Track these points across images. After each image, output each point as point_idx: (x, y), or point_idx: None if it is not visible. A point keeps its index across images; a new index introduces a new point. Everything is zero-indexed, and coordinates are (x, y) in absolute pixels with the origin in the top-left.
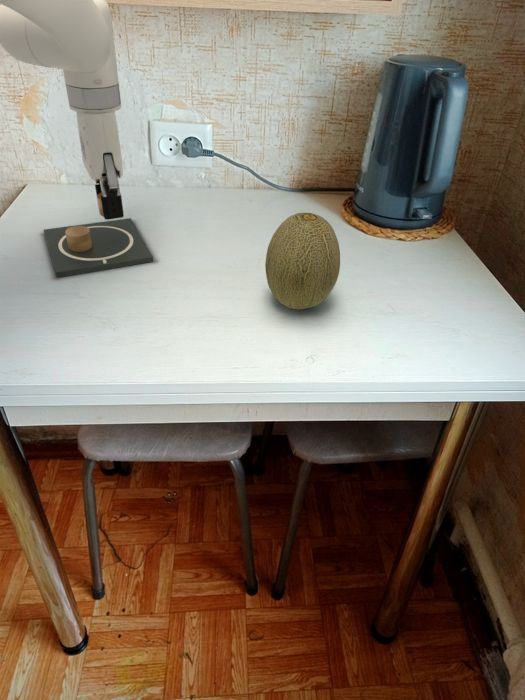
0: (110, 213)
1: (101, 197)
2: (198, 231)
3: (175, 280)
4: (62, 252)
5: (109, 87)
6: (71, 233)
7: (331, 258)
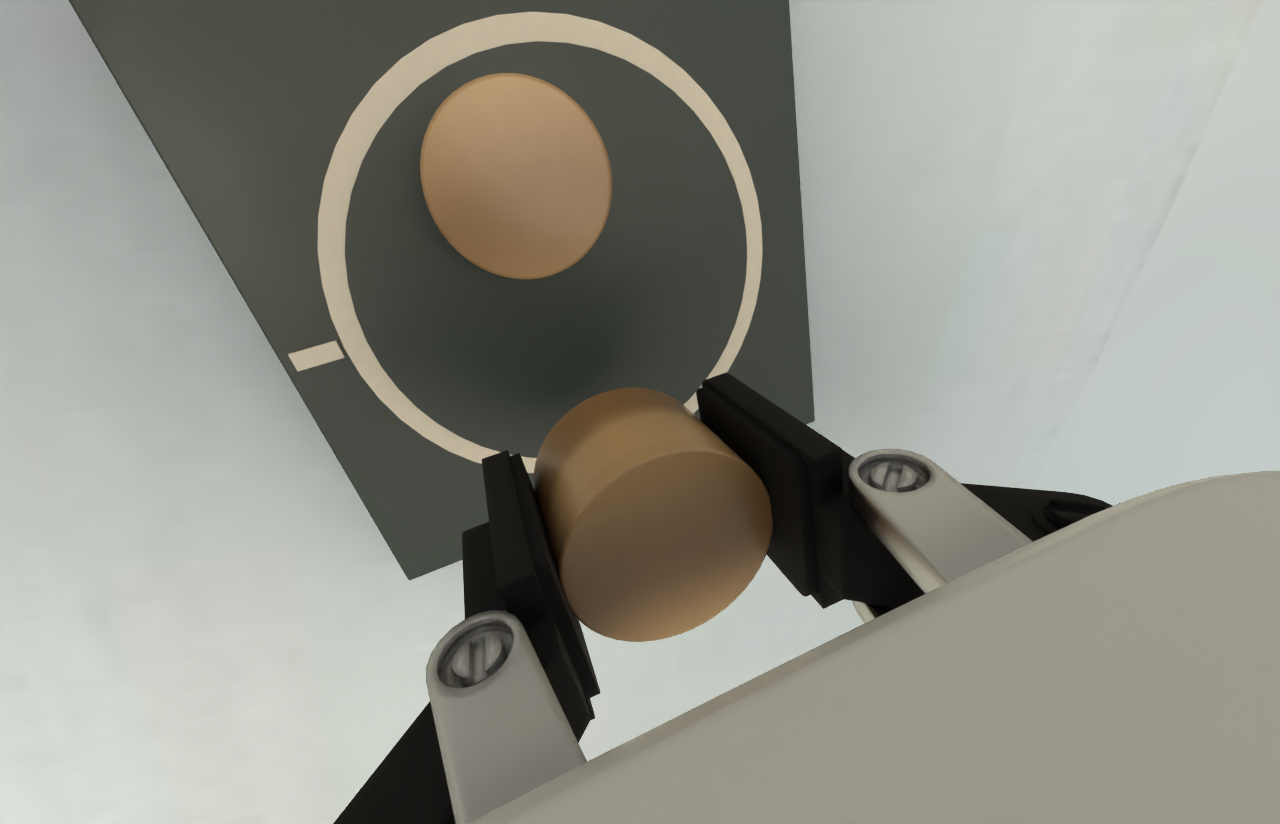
0: (465, 543)
1: (498, 586)
2: (682, 661)
3: (223, 681)
4: (421, 48)
5: None
6: (473, 132)
7: None
